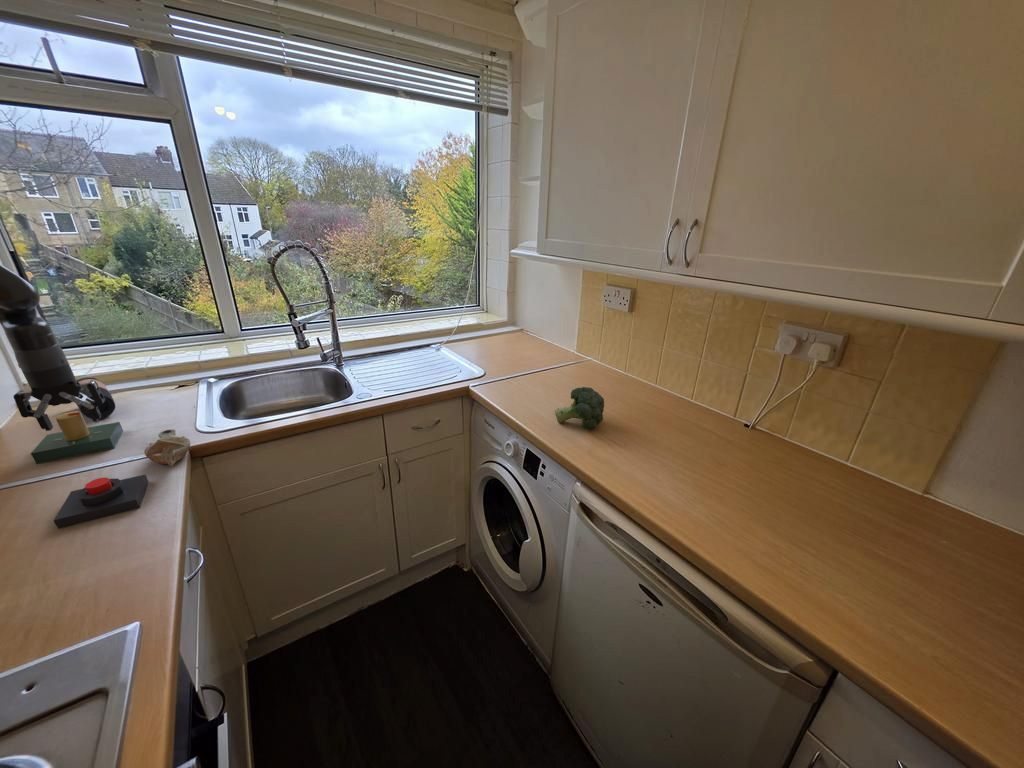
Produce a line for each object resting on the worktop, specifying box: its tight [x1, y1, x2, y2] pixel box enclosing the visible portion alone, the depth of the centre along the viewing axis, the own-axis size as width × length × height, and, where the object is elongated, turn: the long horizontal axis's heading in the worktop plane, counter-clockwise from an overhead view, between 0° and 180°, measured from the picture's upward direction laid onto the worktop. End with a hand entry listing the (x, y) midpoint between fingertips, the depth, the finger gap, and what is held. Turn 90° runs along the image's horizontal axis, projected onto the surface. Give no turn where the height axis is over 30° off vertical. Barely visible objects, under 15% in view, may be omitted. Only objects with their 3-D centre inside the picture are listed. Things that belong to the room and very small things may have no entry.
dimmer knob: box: [55, 410, 90, 441], centre depth 101 cm, size 4×4×6 cm
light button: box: [84, 476, 112, 495], centre depth 82 cm, size 4×4×2 cm
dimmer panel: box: [30, 421, 124, 465], centre depth 103 cm, size 14×10×3 cm
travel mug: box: [76, 377, 116, 419], centre depth 121 cm, size 8×8×20 cm
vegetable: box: [554, 386, 605, 431], centre depth 117 cm, size 12×13×15 cm
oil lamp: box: [143, 429, 191, 467], centre depth 98 cm, size 9×21×10 cm, turn 39°
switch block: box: [53, 473, 150, 530], centre depth 83 cm, size 12×10×4 cm
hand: (73, 424), depth 101 cm, fingers open, 8 cm apart
